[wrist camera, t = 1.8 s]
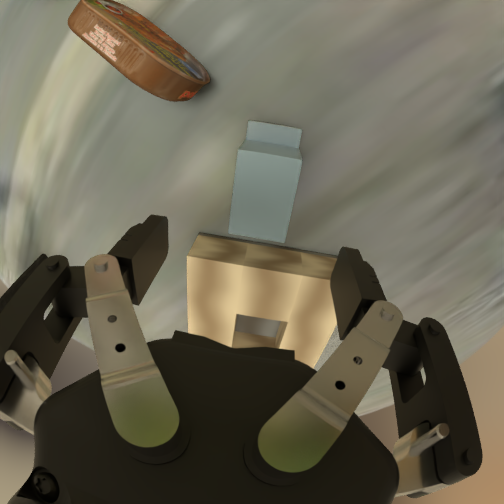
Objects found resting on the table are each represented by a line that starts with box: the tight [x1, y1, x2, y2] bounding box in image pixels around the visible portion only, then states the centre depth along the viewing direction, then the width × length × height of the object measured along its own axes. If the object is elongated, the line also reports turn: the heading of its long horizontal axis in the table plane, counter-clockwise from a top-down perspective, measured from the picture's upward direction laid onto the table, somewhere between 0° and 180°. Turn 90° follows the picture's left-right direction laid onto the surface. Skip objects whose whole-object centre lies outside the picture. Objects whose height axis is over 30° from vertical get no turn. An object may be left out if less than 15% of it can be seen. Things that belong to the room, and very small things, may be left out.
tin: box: [68, 0, 210, 102], centre depth 15 cm, size 15×3×8 cm, turn 42°
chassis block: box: [187, 233, 338, 368], centre depth 32 cm, size 16×20×4 cm
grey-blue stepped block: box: [228, 120, 303, 243], centre depth 21 cm, size 4×9×8 cm, turn 172°
